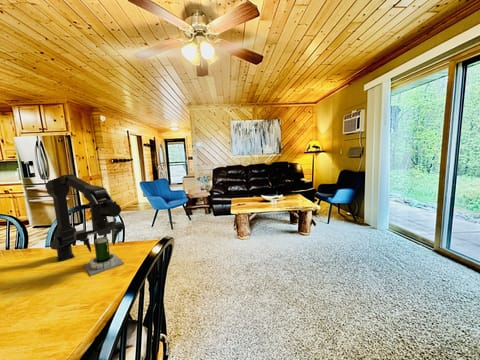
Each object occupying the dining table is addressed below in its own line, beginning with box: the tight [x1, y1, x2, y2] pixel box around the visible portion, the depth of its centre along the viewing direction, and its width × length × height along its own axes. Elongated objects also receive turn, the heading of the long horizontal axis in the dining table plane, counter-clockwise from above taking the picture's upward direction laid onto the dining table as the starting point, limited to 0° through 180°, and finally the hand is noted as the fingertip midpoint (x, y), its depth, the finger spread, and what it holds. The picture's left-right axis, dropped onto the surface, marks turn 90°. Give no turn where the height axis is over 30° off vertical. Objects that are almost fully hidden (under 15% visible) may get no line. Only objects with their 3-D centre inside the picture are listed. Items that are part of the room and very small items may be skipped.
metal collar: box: [88, 252, 118, 270], centre depth 97 cm, size 10×10×2 cm
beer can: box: [94, 236, 111, 263], centre depth 96 cm, size 5×5×12 cm
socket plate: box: [83, 256, 125, 277], centre depth 97 cm, size 13×13×1 cm
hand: (102, 248), depth 96 cm, fingers open, 9 cm apart
